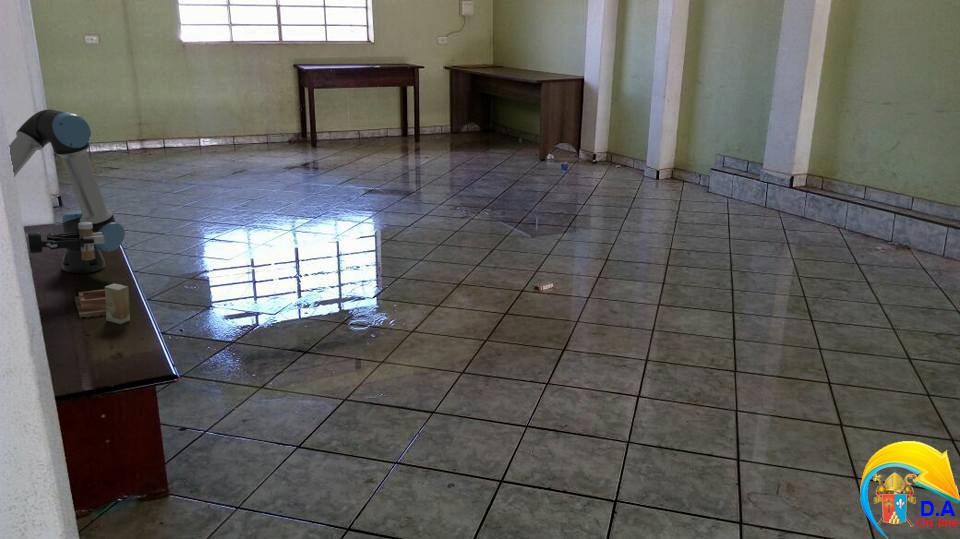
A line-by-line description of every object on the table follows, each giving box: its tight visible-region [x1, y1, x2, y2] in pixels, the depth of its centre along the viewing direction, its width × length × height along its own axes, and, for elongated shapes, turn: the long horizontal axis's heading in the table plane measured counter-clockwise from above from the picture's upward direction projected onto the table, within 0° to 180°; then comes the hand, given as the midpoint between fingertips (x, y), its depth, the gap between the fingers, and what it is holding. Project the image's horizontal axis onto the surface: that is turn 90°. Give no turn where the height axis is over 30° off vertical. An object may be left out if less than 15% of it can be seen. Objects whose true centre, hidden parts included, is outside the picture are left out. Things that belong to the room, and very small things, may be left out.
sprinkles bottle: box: [78, 222, 95, 260], centre depth 266 cm, size 5×5×14 cm
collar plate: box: [74, 288, 106, 319], centre depth 257 cm, size 18×12×4 cm, turn 32°
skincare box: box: [104, 283, 131, 325], centre depth 246 cm, size 6×4×12 cm
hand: (103, 237), depth 269 cm, fingers closed on sprinkles bottle, 4 cm apart
